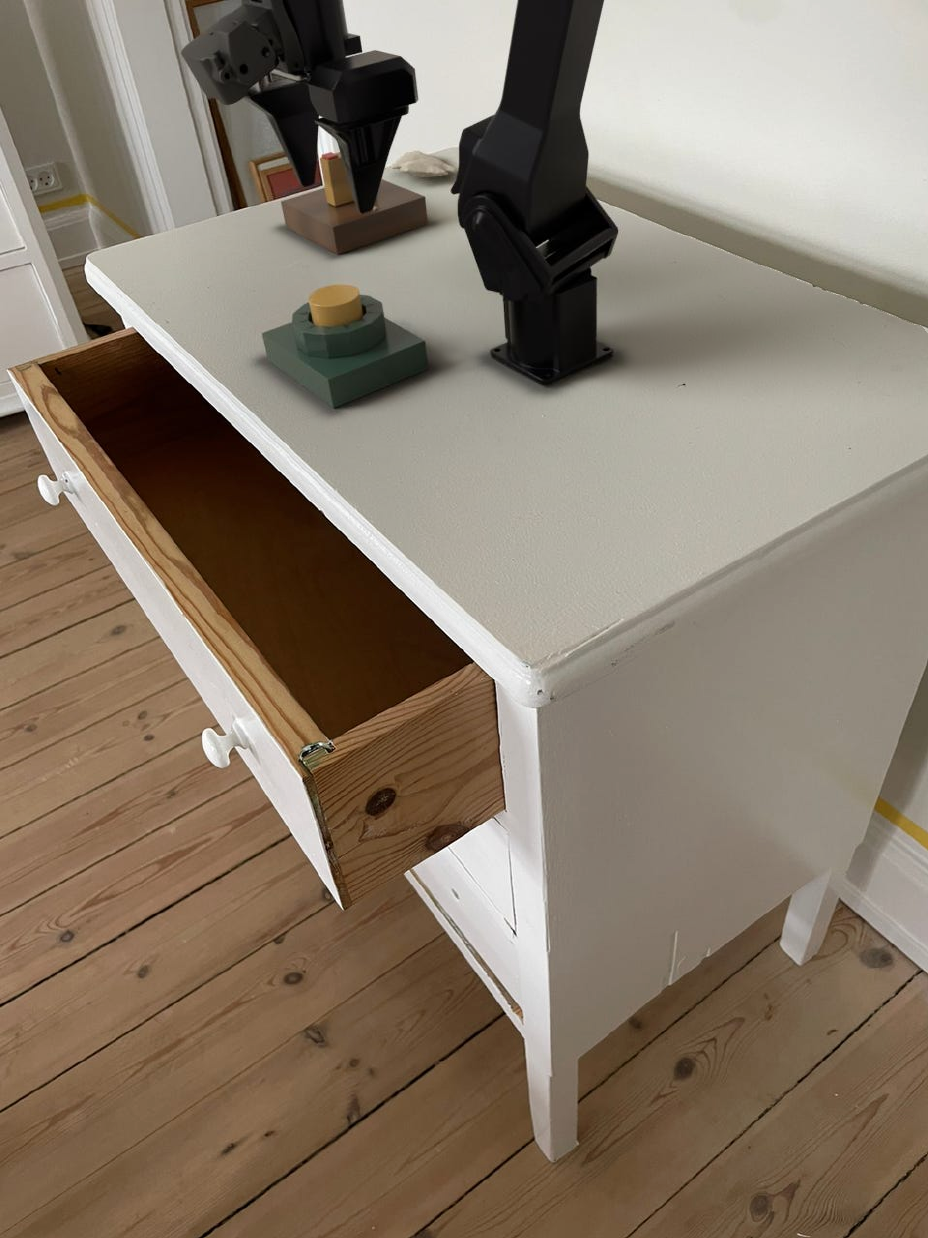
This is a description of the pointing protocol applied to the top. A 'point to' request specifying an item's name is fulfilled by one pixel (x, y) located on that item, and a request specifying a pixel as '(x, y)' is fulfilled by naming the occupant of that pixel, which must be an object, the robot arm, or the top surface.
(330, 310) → the release button
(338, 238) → the lock plate
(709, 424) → the top surface
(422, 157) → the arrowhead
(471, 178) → the robot arm
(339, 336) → the box
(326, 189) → the red-tipped wooden block
